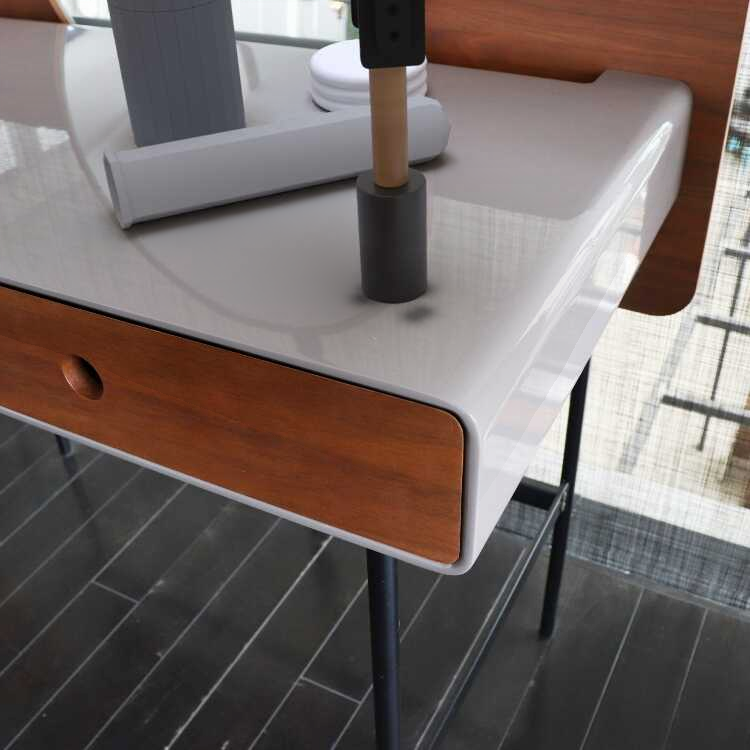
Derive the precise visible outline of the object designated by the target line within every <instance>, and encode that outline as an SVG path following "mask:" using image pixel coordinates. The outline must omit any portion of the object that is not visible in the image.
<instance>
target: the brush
mask: <svg viewBox="0 0 750 750" xmlns="http://www.w3.org/2000/svg"><path fill="white" fill-rule="evenodd" d="M369 88H370V111H371V134H372V157H373V169H371V170H368V171H366V172H364V173H362V174H361V175H360V176H357V178H356V182H355V190H356V191H355V192H356V206H357V208H356V209H357V227H358V243H359V261H360V280H361V282H360V283H361V289H362V291H363V293H364V294H365V295H366V296H367V297H369V298H370V299H372V300H375V301H378V302H382V303H387V304H388V303H389V304H396V303H397V304H398V303H405V302H409V301H412V300H415V299H416V298H418V297H420V296H421V295H423V294H424V292H425V291H427V288H428V225H427V223H428V221H427V219H428V214H427V213H428V212H427V211H428V210H427V208H428V207H427V205H428V204H427V178H426V176H425V175H424V174H423V173H422V172H421V171H420V170H418V169H414V168H412V167H409V166H408V123H407V74H406V67H393V68H378V69H369Z"/></svg>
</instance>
